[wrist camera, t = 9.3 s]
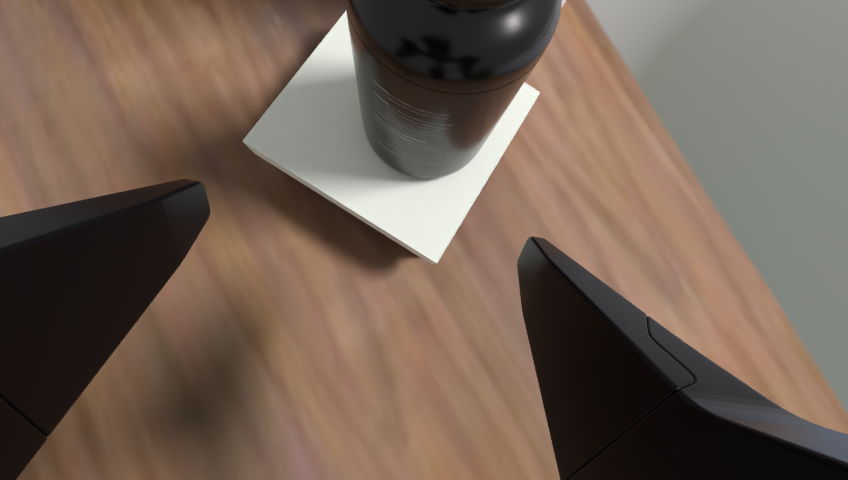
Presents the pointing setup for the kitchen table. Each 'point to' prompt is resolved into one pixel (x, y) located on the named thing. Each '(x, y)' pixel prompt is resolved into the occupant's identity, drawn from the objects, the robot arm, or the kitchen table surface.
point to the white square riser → (369, 153)
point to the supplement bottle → (442, 74)
